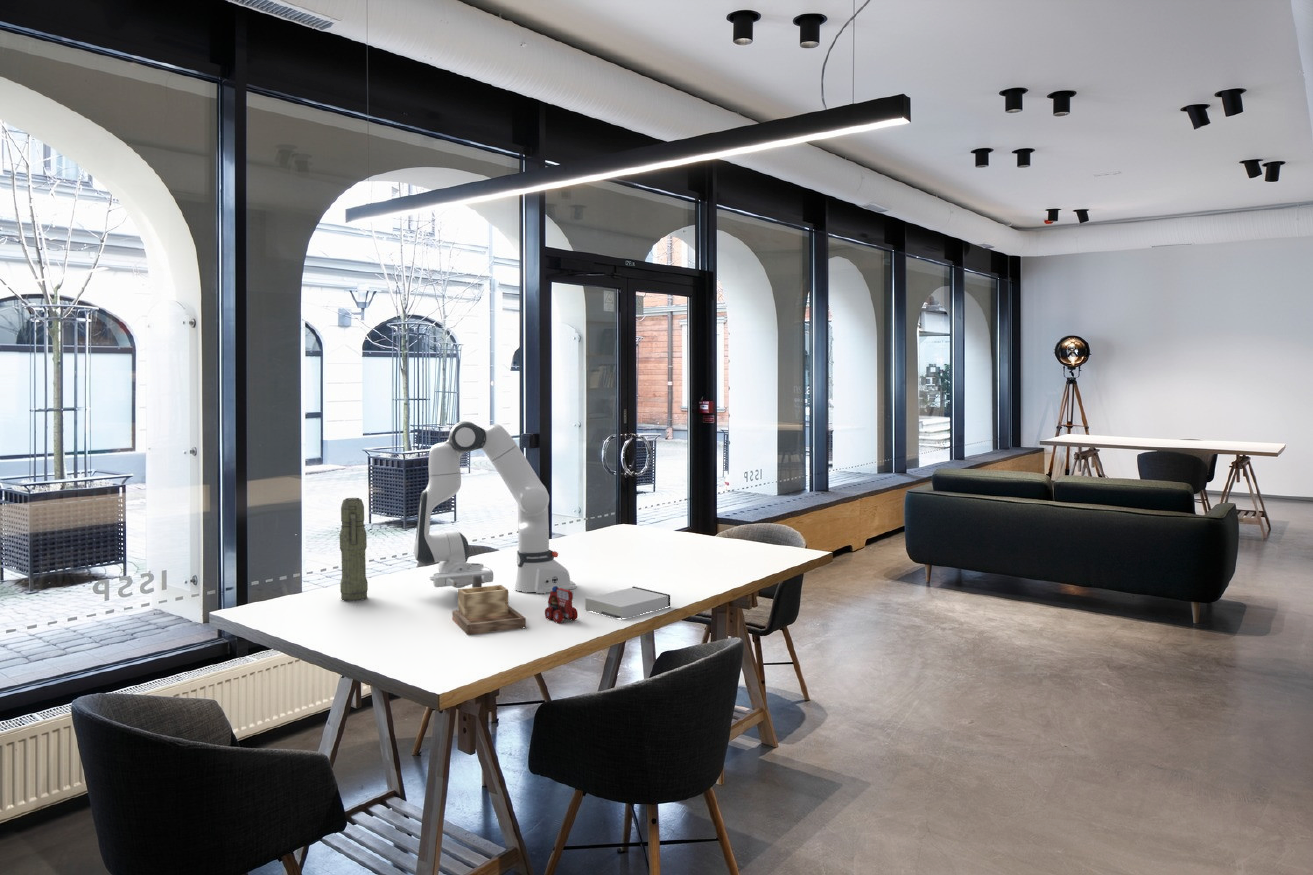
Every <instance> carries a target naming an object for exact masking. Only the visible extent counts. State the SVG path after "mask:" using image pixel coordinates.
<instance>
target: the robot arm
mask: <svg viewBox="0 0 1313 875" xmlns="http://www.w3.org/2000/svg"><path fill="white" fill-rule="evenodd" d="M429 449H430V450H429V453H428V483H427V485H426V488H425V489H424V490H423V491H422V492H421V494H420V498H419V504H418V505H419V506H418V512H417V522H416V533H415V534H416V535H415V541H414V546H413V555H414V558H415V560H416V561H417V562H419V564H422V565H424V566H428V565H432V564H435V563H438V566H437V567H438V568H437V569H438V572H435V573H434V574H433V576H429V581H431V582H432V583H433V586H434V587H435V588H444V587H453V588H455V589H463V588H465V587H466V586H467V587H468V586H470V585H472V575H482V584H485V583H492V582H493V581H494V571H493V570H492V569H491V568H489V567H486V566H484V564H483V563H474V562H473V563H472V562H471V563H470V562H468V560H469V558H470V546H469V542H468V539H467V537H465V535H463V533H461V532H459V531H453V532H446V533H439V534H433V535H432V534H430V530H431V517H432V512H433V510H434V508H436V507H437V506H438V505H440V504H443V502H445V501H448V500H449V499H451V498H453V497H454V496H455V495H456V494H457V493H458V492H459V491H460V489H461V486H462V475H461V474H462V472H461V458H462V455H464V454H465V453H471V452H473V451H476V450H482V452H484V453H485V455H486V456H487V458H488V459H489V460H490V462H491V464H492V465H493V466H494V468H495V469H496V471H497V473H498V474H499V475H500V477H501V478H502V480H503V482H504V484H505V486H506V487H507V489H508V491H509V492H510V493H511V495H512V496H513V499H514V500H515V501H516V503H517V524H518V525H517V531H518V532H517V533H518V535H517V537H518V538H517V539H518V540H517V541H518V547H517V548H518V549H517V551H516V564H517V573H516V581H515V584H514V588H513V589H514V590H515V591H516V590H517V591H516V592H519V591H522V592H521V593H527V592H536V593H535V594H538V593H544V594H547V593H546V592H551V591H552V588H553V587H554V586H557V587H558V588H562V589H566V590H569V591H570V590H573V589H576V588H577V583H576V582H574V581H572V580H571V576H570V572H569V570H568V569H567V568H566V567H564V566H563V565H561V563H559V562H558V561H556V559H555V558H558V557H559V553H558V552H557V551H553V550H552V549H550V535H549V534H550V530H549V529H550V528H549V527H550V526H549V525H550V524H549V505H550V504H549V503H550V494H549V493H548V492H549V491H548V490H547V488H546V486H545V485H544V484H543V483H542V481H541V479H540V477H538V475H537V473H536V471H535V470H534V468H532V466H531V464H530V462H529V460H528V459H527V457H526V456H525V454H524V453H523V452H522V450H521V448H520V446H518V444H517V442H516V441H515V440H514V438H513V437H512V436H511V434H509V432H508V431H507V430H506V429H505V428H504V426H502V425H501V424H496V423H494V424H490V425H488V426H486V427H481V426H478V425H476V424H475V423H474V422H471V421H469V420H461V421H459V422H456V423H455V424H454V425H453V426H452V428H450V431H449V434H448V437H447V439H446V441H444V442H438V443H435V444H434V445H432V446H431V448H429Z"/></svg>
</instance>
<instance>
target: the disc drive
mask: <svg viewBox="0 0 1313 875" xmlns="http://www.w3.org/2000/svg"><path fill="white" fill-rule="evenodd" d="M584 600H585V601H584V603H585V606H584V611H585V610H586V611H585V612H588V611H593V612H596V613H599V614H603V615H606V616H605V617H607V616H610V617H613V618H612V619H614V618H621V619H622V618H628V619H630V618H629V617H632V618H634V617H633V616H636V617H638V616H637V615H640V614H643V613H646V612H650V611H655V612H657V611H656V610H659V609H662V608H665V607H668V606H670V607H671V594H668V593H663V592H659V591H655V590H650V589H646V588H642V587H637V586H632V587H629V588H624V589H621V590H616V591H611V592H607V593H606V592H605V593H602V594H598V595H592V596H588V597H585V598H584ZM659 611H660V610H659ZM599 614H598V615H599ZM603 615H602V616H603ZM640 616H641V615H640ZM610 617H609V618H610Z"/></svg>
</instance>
